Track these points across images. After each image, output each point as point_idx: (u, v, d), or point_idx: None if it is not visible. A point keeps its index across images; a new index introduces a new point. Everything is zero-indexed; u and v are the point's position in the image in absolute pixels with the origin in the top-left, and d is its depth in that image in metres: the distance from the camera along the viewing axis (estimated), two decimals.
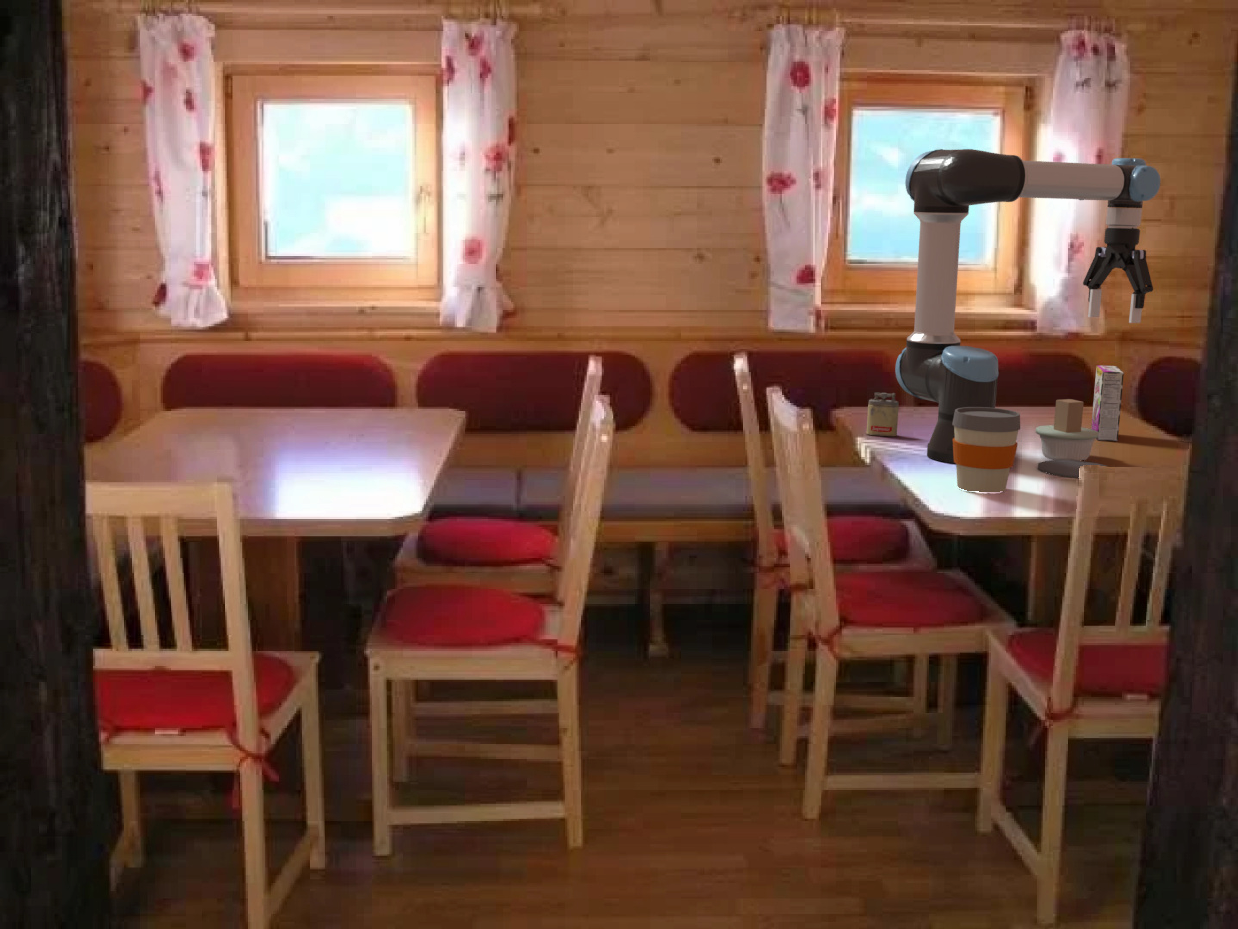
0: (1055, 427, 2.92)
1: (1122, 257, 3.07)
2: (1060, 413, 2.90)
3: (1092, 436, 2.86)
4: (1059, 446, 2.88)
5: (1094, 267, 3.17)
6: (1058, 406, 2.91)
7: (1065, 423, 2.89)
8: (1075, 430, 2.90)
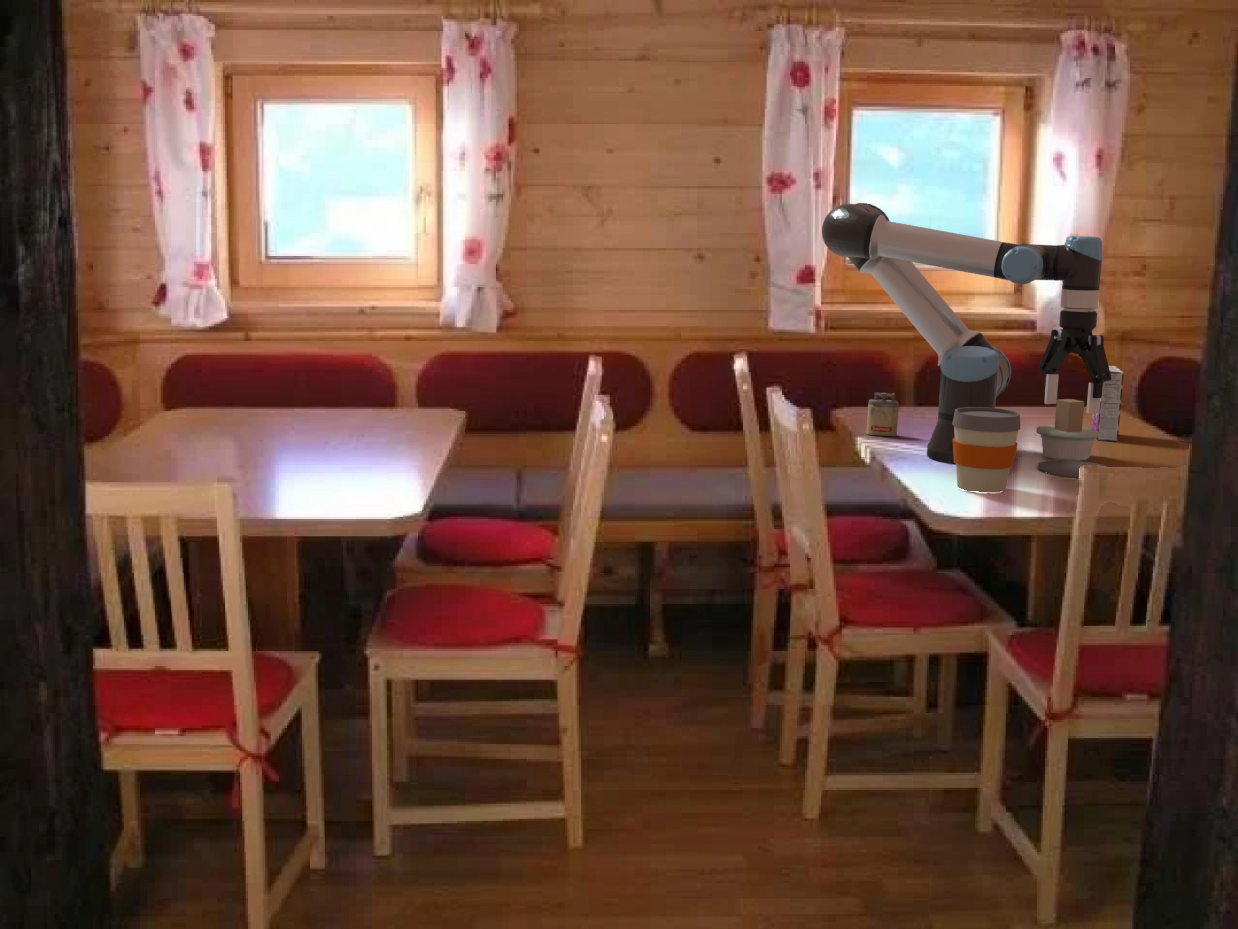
0: (1056, 427, 2.92)
1: (1078, 342, 2.85)
2: (1061, 413, 2.90)
3: (1093, 436, 2.87)
4: (1060, 446, 2.88)
5: (1050, 351, 2.94)
6: (1059, 406, 2.91)
7: (1066, 423, 2.89)
8: (1076, 430, 2.90)
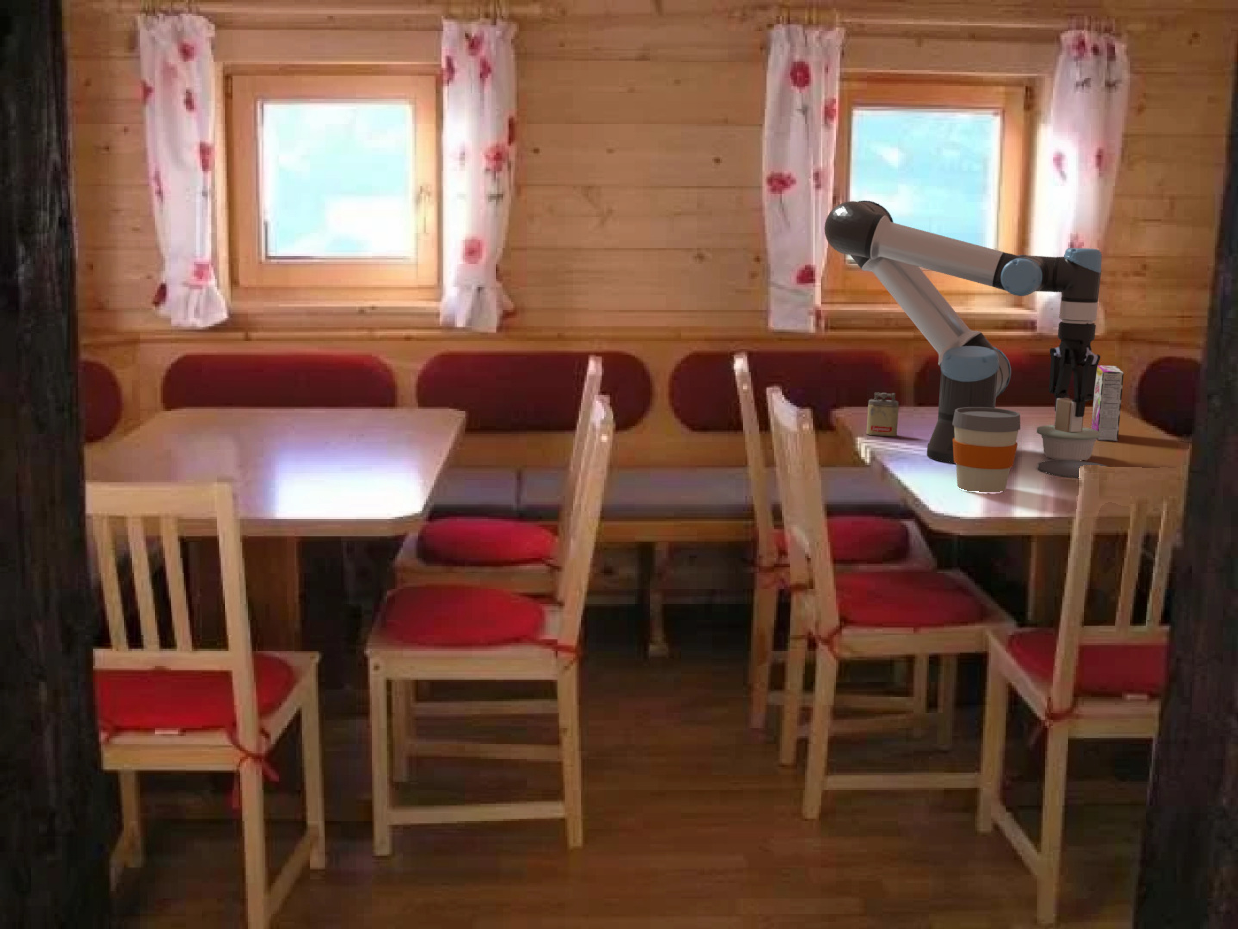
0: (1056, 427, 2.92)
1: (1075, 356, 2.86)
2: (1061, 413, 2.90)
3: (1093, 436, 2.87)
4: (1060, 446, 2.88)
5: (1054, 370, 2.93)
6: (1059, 406, 2.91)
7: (1067, 423, 2.89)
8: None
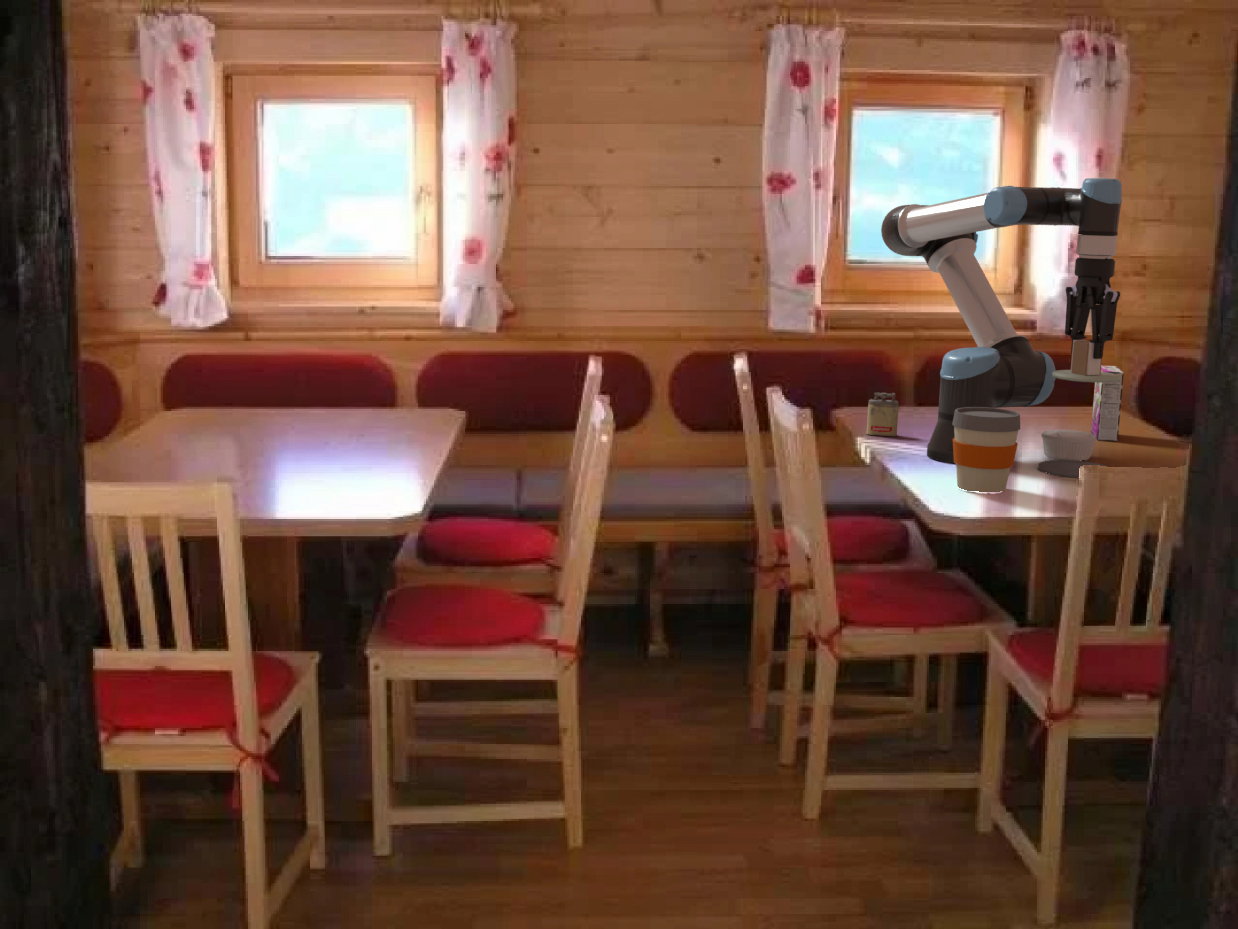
0: (1073, 370, 2.75)
1: (1093, 294, 2.68)
2: (1078, 356, 2.73)
3: (1113, 379, 2.69)
4: (1060, 446, 2.88)
5: (1071, 310, 2.75)
6: (1076, 348, 2.73)
7: (1084, 366, 2.71)
8: None
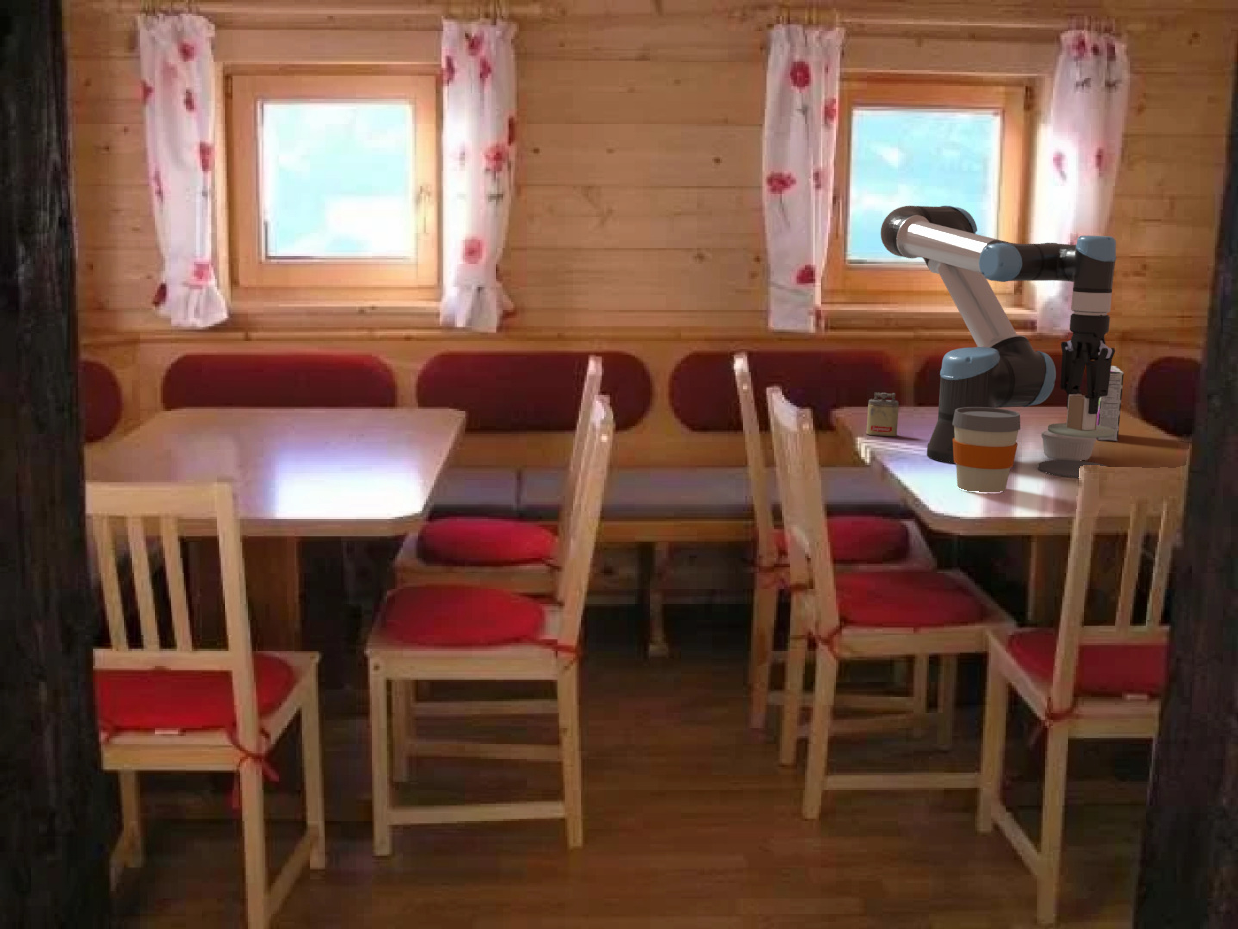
0: (1068, 425, 2.77)
1: (1088, 350, 2.71)
2: (1074, 410, 2.75)
3: (1108, 434, 2.71)
4: (1060, 446, 2.88)
5: (1066, 364, 2.78)
6: (1072, 402, 2.75)
7: (1080, 421, 2.73)
8: None
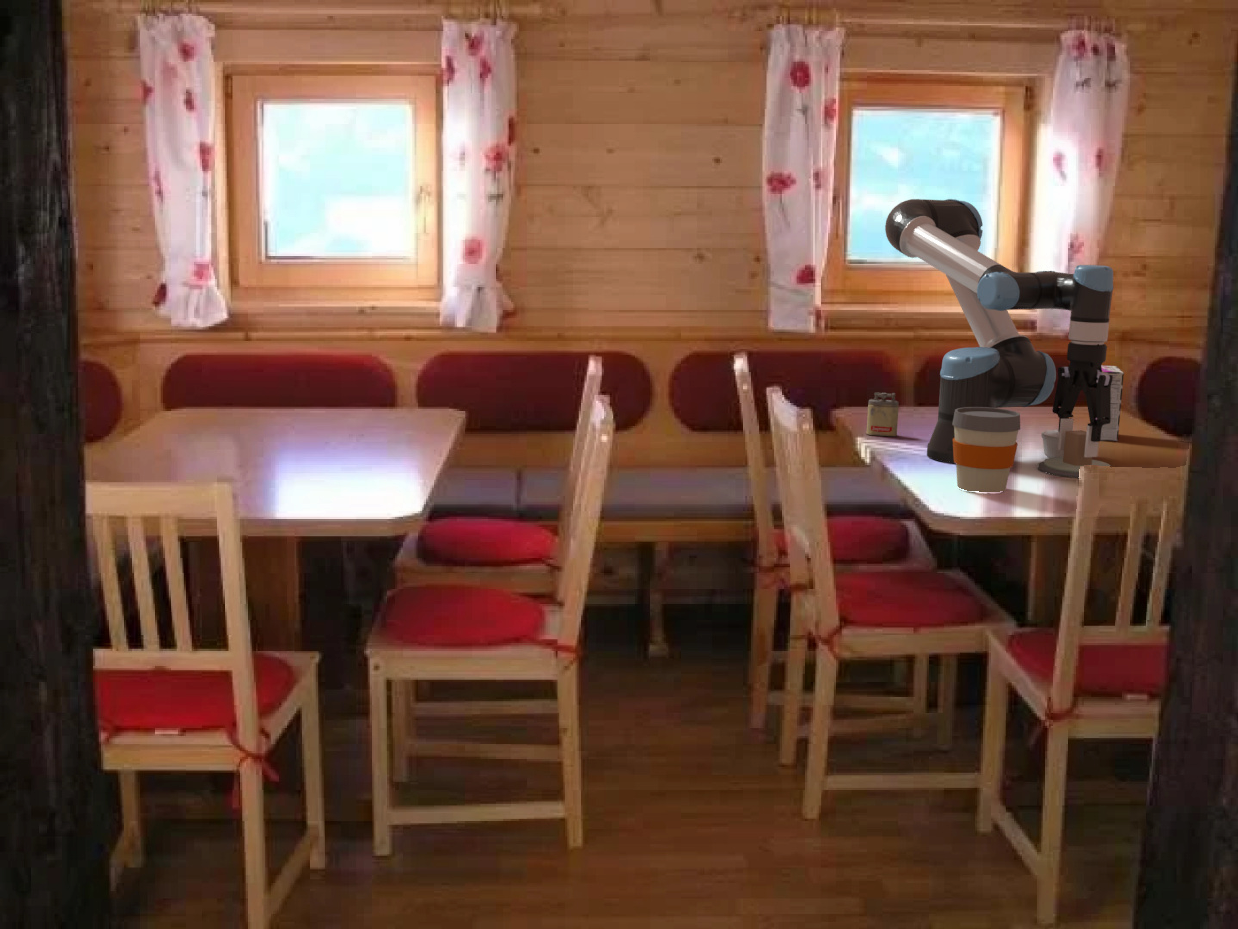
0: (1064, 460, 2.78)
1: (1086, 378, 2.72)
2: (1070, 446, 2.77)
3: None
4: None
5: (1060, 390, 2.80)
6: (1068, 438, 2.77)
7: (1075, 456, 2.75)
8: (1085, 463, 2.76)
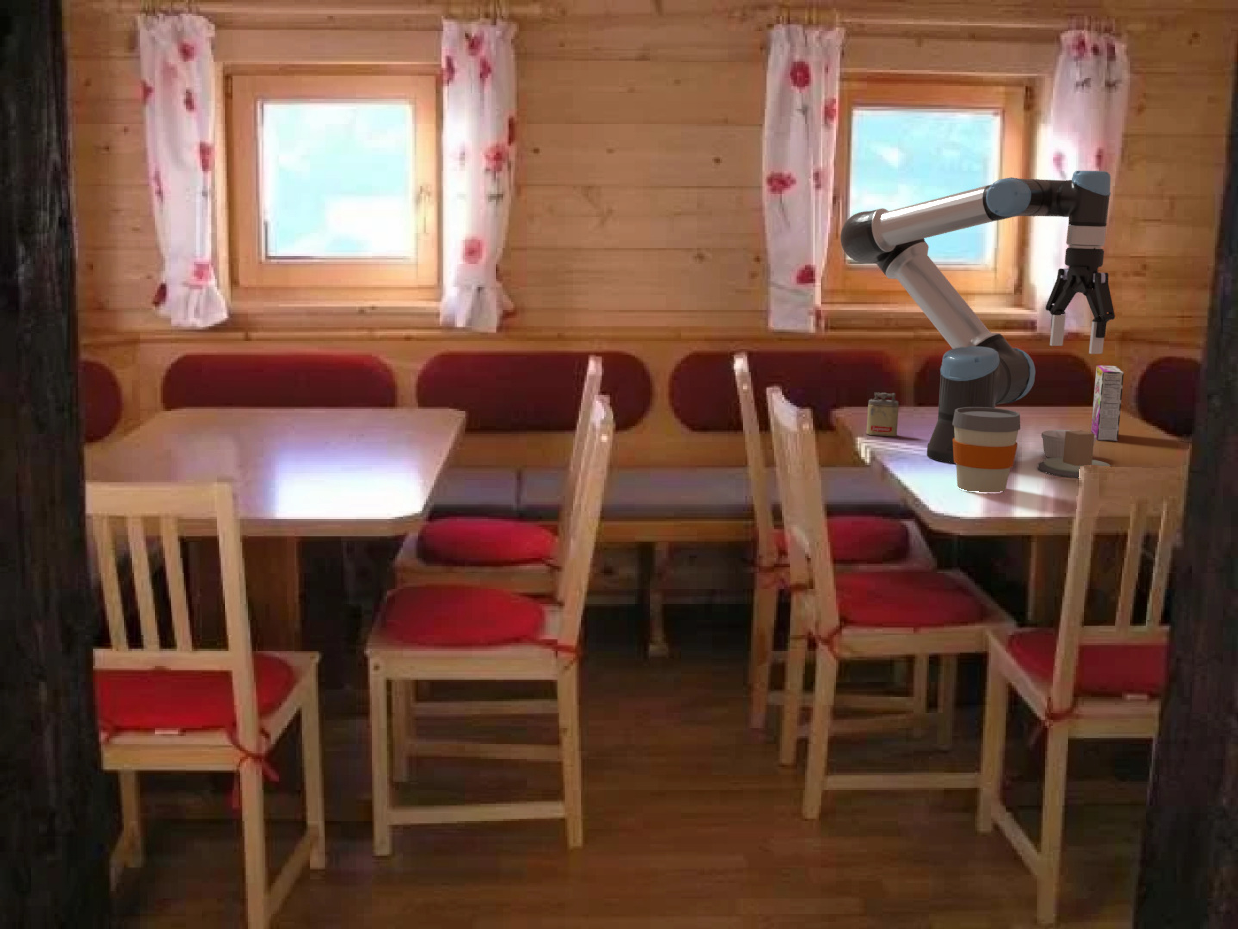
0: (1064, 460, 2.78)
1: (1083, 280, 2.77)
2: (1069, 446, 2.77)
3: None
4: (1061, 446, 2.88)
5: (1056, 291, 2.86)
6: (1068, 438, 2.77)
7: (1075, 456, 2.75)
8: (1085, 463, 2.76)
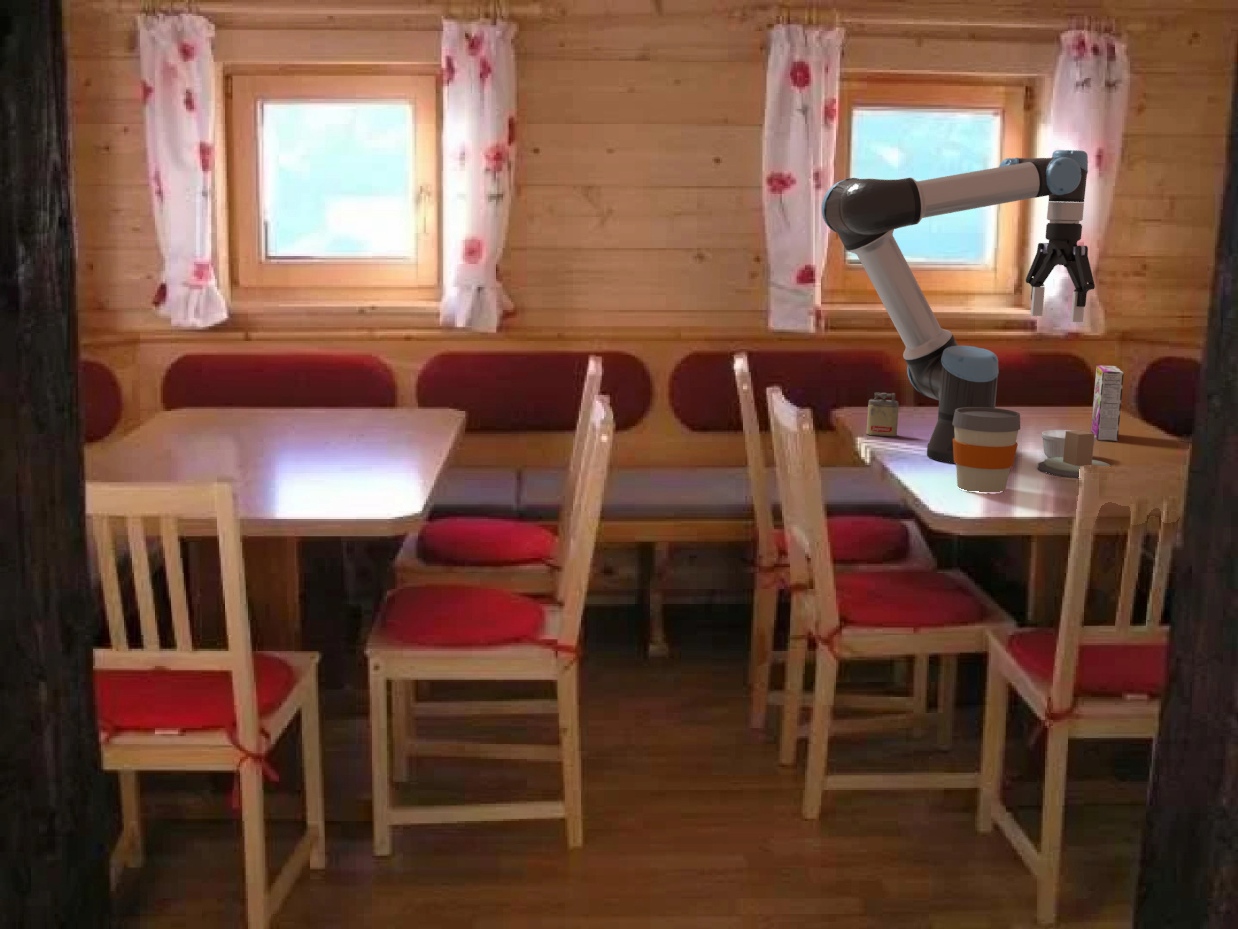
0: (1064, 460, 2.78)
1: (1063, 253, 2.95)
2: (1070, 445, 2.77)
3: None
4: (1060, 446, 2.88)
5: (1036, 264, 3.04)
6: (1068, 438, 2.77)
7: (1075, 456, 2.75)
8: (1085, 463, 2.76)
